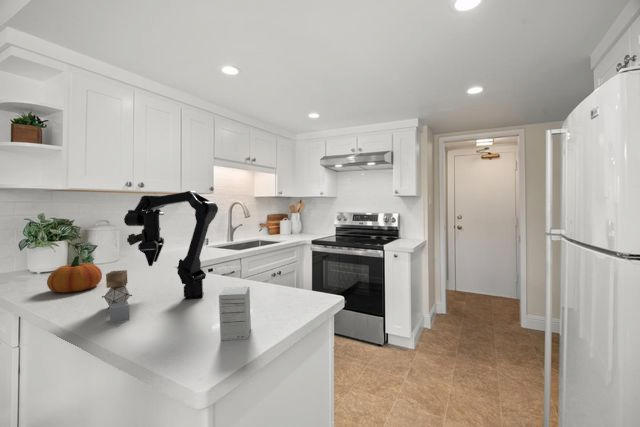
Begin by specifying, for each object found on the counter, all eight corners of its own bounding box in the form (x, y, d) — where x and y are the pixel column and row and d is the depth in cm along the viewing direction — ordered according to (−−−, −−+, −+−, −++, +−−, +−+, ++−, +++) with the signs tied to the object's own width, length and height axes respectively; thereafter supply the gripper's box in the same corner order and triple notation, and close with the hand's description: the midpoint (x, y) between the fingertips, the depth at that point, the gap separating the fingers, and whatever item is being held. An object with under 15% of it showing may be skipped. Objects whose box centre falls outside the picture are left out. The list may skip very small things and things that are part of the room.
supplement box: (226, 329, 86) (224, 287, 86) (251, 328, 87) (250, 285, 86) (219, 341, 79) (217, 294, 79) (247, 339, 80) (246, 293, 79)
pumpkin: (36, 294, 127) (34, 259, 127) (83, 282, 146) (82, 252, 145) (68, 297, 122) (66, 261, 121) (112, 284, 140) (111, 253, 140)
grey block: (128, 315, 99) (127, 301, 99) (129, 320, 95) (128, 305, 95) (110, 319, 96) (109, 304, 96) (110, 324, 92) (109, 308, 92)
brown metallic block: (127, 283, 111) (126, 270, 111) (122, 286, 107) (121, 272, 106) (112, 284, 110) (111, 271, 110) (106, 287, 105) (106, 274, 105)
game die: (119, 318, 107) (112, 301, 101) (100, 308, 109) (92, 292, 103) (139, 299, 114) (134, 283, 108) (121, 291, 116) (115, 274, 110)
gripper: (134, 225, 127) (136, 261, 127) (121, 228, 109) (123, 270, 110) (163, 224, 130) (164, 259, 131) (155, 227, 113) (157, 267, 113)
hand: (152, 263), depth 121 cm, fingers open, 9 cm apart
